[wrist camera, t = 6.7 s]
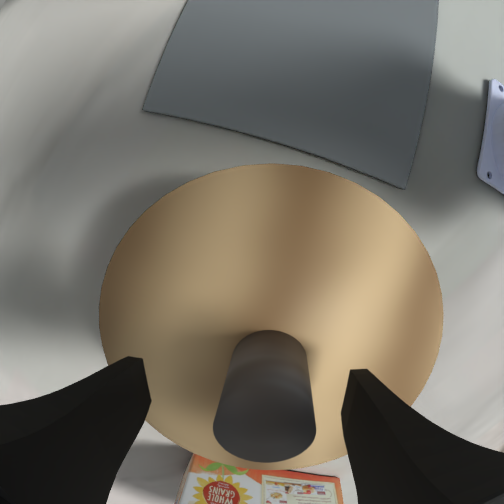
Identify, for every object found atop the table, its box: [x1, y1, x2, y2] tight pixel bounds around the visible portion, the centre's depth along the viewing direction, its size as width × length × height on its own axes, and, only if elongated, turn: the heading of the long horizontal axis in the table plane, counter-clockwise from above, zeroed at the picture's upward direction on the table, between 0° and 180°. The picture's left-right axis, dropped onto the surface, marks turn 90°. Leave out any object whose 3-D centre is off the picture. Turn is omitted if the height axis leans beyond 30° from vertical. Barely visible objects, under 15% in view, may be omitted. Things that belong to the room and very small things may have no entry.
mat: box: [142, 0, 439, 189], centre depth 14 cm, size 16×16×1 cm
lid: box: [99, 164, 443, 470], centre depth 10 cm, size 15×15×5 cm
